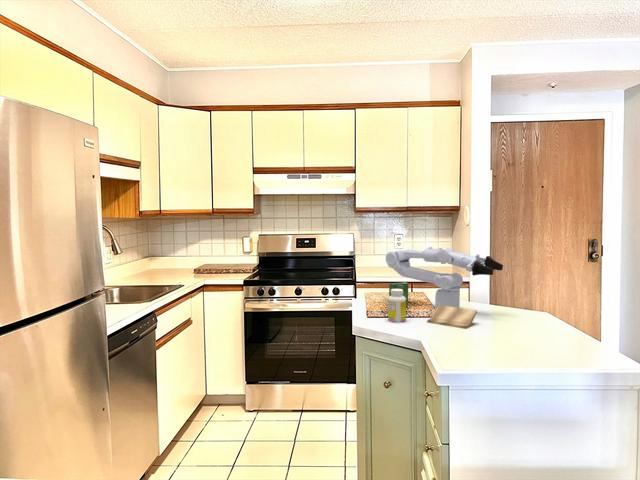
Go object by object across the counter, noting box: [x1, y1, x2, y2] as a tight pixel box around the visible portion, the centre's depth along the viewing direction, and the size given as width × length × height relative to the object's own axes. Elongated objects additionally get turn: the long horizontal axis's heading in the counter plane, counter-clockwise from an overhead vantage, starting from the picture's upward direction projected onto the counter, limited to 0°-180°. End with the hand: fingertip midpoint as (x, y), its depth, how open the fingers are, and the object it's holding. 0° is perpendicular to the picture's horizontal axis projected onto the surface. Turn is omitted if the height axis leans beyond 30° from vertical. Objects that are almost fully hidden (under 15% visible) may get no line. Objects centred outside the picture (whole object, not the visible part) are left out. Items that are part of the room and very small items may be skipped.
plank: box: [429, 305, 478, 328], centre depth 179 cm, size 15×8×1 cm
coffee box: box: [388, 282, 409, 309], centre depth 195 cm, size 8×3×13 cm, turn 117°
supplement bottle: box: [387, 289, 407, 324], centre depth 182 cm, size 7×7×13 cm
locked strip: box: [426, 318, 470, 330], centre depth 175 cm, size 15×2×1 cm, turn 51°
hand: (497, 269), depth 185 cm, fingers open, 7 cm apart
